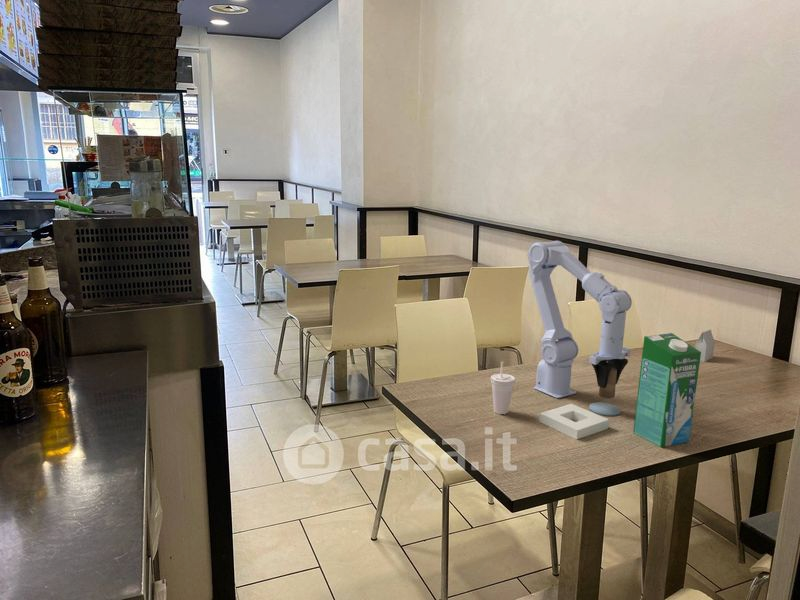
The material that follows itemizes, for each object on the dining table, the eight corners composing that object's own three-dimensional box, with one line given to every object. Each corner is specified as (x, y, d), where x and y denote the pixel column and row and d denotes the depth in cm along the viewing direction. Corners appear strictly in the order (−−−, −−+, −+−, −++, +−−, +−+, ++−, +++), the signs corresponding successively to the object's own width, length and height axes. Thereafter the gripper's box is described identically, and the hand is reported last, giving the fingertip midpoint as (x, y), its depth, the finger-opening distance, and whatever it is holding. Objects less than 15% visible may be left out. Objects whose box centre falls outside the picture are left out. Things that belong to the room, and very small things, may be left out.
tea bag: (712, 358, 210) (716, 330, 208) (704, 362, 206) (708, 333, 204) (701, 355, 213) (705, 328, 211) (693, 359, 208) (697, 331, 206)
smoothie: (484, 408, 162) (487, 359, 159) (504, 405, 165) (507, 356, 161) (497, 418, 156) (500, 367, 153) (517, 414, 159) (521, 364, 156)
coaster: (582, 408, 164) (583, 406, 164) (601, 402, 168) (602, 400, 168) (607, 418, 157) (607, 416, 157) (626, 412, 162) (626, 409, 162)
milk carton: (661, 447, 142) (674, 346, 136) (632, 432, 150) (643, 335, 144) (689, 441, 145) (702, 342, 140) (659, 426, 153) (671, 332, 148)
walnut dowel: (595, 394, 162) (598, 368, 161) (605, 391, 165) (607, 365, 163) (607, 399, 159) (610, 372, 158) (617, 396, 161) (620, 370, 160)
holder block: (539, 421, 155) (540, 413, 154) (570, 412, 161) (571, 403, 161) (576, 439, 145) (577, 430, 144) (608, 428, 152) (609, 419, 151)
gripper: (607, 344, 151) (602, 395, 154) (642, 336, 159) (636, 384, 162) (584, 337, 157) (580, 386, 160) (619, 330, 165) (614, 377, 168)
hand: (607, 385), depth 161 cm, fingers closed on walnut dowel, 4 cm apart
